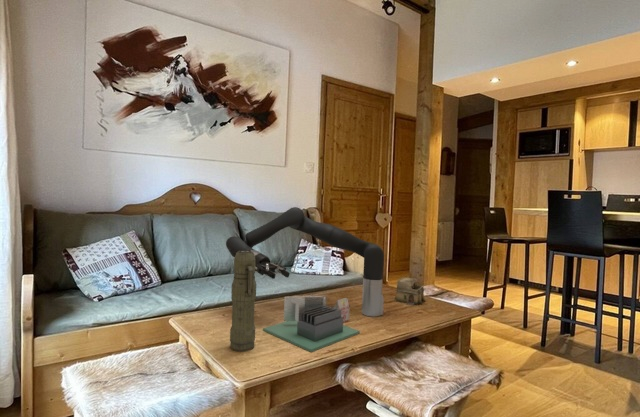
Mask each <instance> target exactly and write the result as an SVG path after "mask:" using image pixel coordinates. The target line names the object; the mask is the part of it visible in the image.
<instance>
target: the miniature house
mask: <svg viewBox="0 0 640 417" xmlns="http://www.w3.org/2000/svg"><path fill="white" fill-rule="evenodd" d="M425 290H426V289H425V288H424V286H423V285H419V284H418V279H417V278H412V277H407V276H403V277H401V278H400V279H397V281H396V289H395V291H396V295H395V297H394V301H396V302H398V303H404V304H406V305H408V306H418V305H422V306H423V303H426V299H425V295H424V294H425V292H424V291H425Z"/></svg>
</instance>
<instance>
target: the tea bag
mask: <svg viewBox="0 0 640 417" xmlns="http://www.w3.org/2000/svg"><path fill="white" fill-rule="evenodd" d="M333 307H334V309H335V308H338V310H340V309H341V317H343V323H346V322H348V321H350V304H349V302H348V298H347V297H344V298H341V299H337V300H336V301H335V304H334V306H333Z"/></svg>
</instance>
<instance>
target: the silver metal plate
mask: <svg viewBox="0 0 640 417" xmlns="http://www.w3.org/2000/svg"><path fill="white" fill-rule="evenodd" d="M298 296H299V297H302V298H305V309H304V311H305V310H309V309H313V308H316V307H320V306H323V305H327V295H316V296H311V295H307V296H306V295H305V296H304V295H298ZM290 297H291V296H284V300H283V301H284V303H283V322H286V321H296V320H295V306H296V304H295V303H292V302H290Z"/></svg>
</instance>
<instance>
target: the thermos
mask: <svg viewBox="0 0 640 417" xmlns="http://www.w3.org/2000/svg"><path fill="white" fill-rule="evenodd" d="M233 258H234V259H233V273H234V275H233V279H232V283H231V295H230V296H231V297H230V298H231V301H232V302H231V303H232V304H231V306H232V307H231V308H232V310H231V314H232V317H231V327H230V331H229V341H230V345H229V347H230V350H232V351H234V352H240V353H241V352H242V353H243V352H248V351H251V350H253V349H254V348H255V341H256V326H255V301H256V300H257V281H256V277H255V274H256V271H255V256H254V253H253V252H252V251H249V250H241V251H238V252H237V253H236V255H235V257H233Z"/></svg>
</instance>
